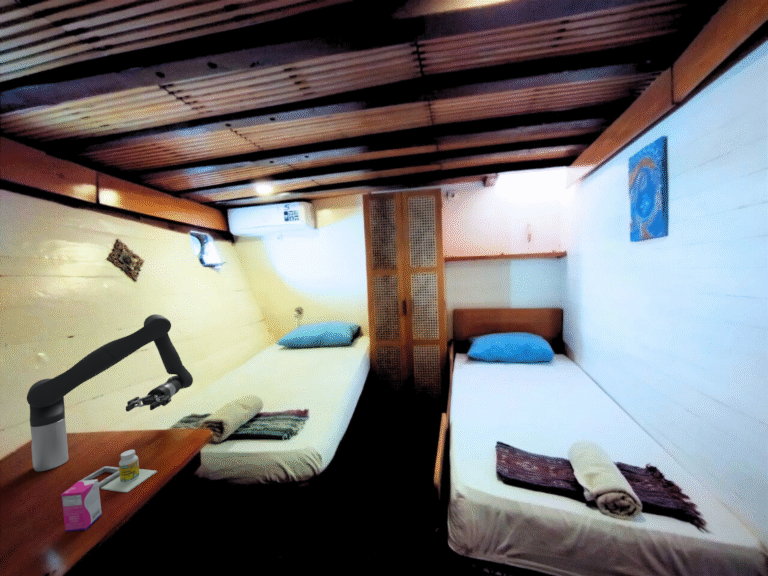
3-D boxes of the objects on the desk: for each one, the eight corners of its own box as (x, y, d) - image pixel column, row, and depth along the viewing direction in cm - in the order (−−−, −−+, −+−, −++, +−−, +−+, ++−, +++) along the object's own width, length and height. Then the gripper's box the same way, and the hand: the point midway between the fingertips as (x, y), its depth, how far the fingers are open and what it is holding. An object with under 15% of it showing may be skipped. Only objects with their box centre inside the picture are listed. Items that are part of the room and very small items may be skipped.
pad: (101, 489, 107) (101, 487, 107) (132, 469, 118) (132, 468, 118) (127, 492, 105) (127, 491, 105) (157, 471, 116) (157, 470, 116)
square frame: (78, 485, 109) (77, 481, 109) (105, 469, 118) (105, 465, 118) (98, 488, 107) (98, 484, 107) (125, 472, 116) (124, 468, 116)
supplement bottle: (140, 472, 115) (138, 446, 115) (138, 479, 111) (136, 453, 110) (121, 477, 112) (119, 451, 112) (119, 486, 108) (117, 458, 107)
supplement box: (81, 516, 95) (78, 480, 94) (102, 514, 95) (99, 478, 95) (63, 532, 89) (60, 493, 89) (86, 530, 90) (82, 491, 89)
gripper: (144, 386, 139) (118, 400, 123) (179, 384, 141) (158, 398, 125) (144, 403, 139) (119, 419, 123) (179, 401, 141) (158, 416, 125)
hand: (139, 408), depth 124 cm, fingers open, 8 cm apart
